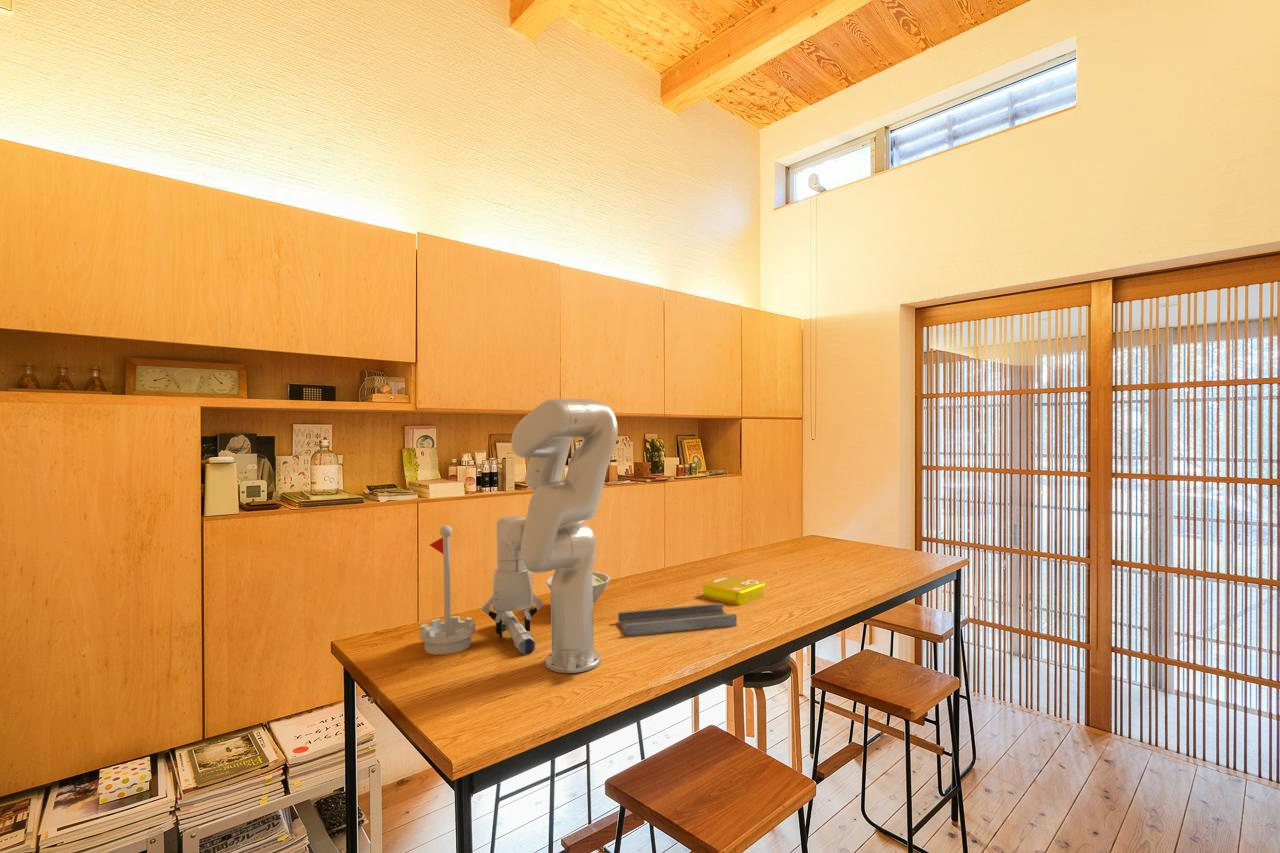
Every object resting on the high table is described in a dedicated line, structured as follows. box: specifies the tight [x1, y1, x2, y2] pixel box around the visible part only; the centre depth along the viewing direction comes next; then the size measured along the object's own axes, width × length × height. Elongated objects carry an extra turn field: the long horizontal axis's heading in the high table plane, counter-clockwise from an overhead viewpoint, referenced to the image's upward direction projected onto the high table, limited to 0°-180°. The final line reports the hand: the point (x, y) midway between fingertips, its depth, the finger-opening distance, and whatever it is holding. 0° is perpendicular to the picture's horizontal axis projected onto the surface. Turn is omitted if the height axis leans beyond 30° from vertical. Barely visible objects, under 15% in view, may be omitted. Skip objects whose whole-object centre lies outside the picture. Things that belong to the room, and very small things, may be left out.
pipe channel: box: [617, 602, 738, 638], centre depth 158 cm, size 11×30×3 cm, turn 103°
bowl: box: [545, 571, 611, 604], centre depth 173 cm, size 19×19×10 cm
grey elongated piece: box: [494, 611, 536, 656], centre depth 150 cm, size 5×7×25 cm
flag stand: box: [419, 524, 476, 656], centre depth 145 cm, size 13×13×30 cm
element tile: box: [702, 575, 766, 606], centre depth 184 cm, size 15×15×5 cm
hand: (513, 634), depth 150 cm, fingers closed on grey elongated piece, 5 cm apart
